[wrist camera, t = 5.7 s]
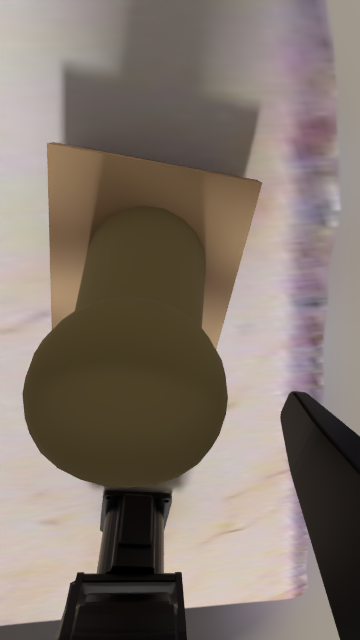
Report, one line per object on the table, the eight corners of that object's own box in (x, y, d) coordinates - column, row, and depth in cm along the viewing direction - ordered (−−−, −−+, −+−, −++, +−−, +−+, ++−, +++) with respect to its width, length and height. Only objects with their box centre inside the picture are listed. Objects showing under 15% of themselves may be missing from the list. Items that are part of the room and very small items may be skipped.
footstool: (209, 325, 22) (215, 351, 20) (65, 306, 21) (51, 331, 18) (247, 174, 18) (262, 183, 15) (65, 140, 16) (47, 143, 14)
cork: (185, 187, 15) (220, 291, 5) (218, 300, 18) (278, 494, 8) (65, 229, 16) (-90, 384, 6) (115, 330, 19) (63, 540, 9)
